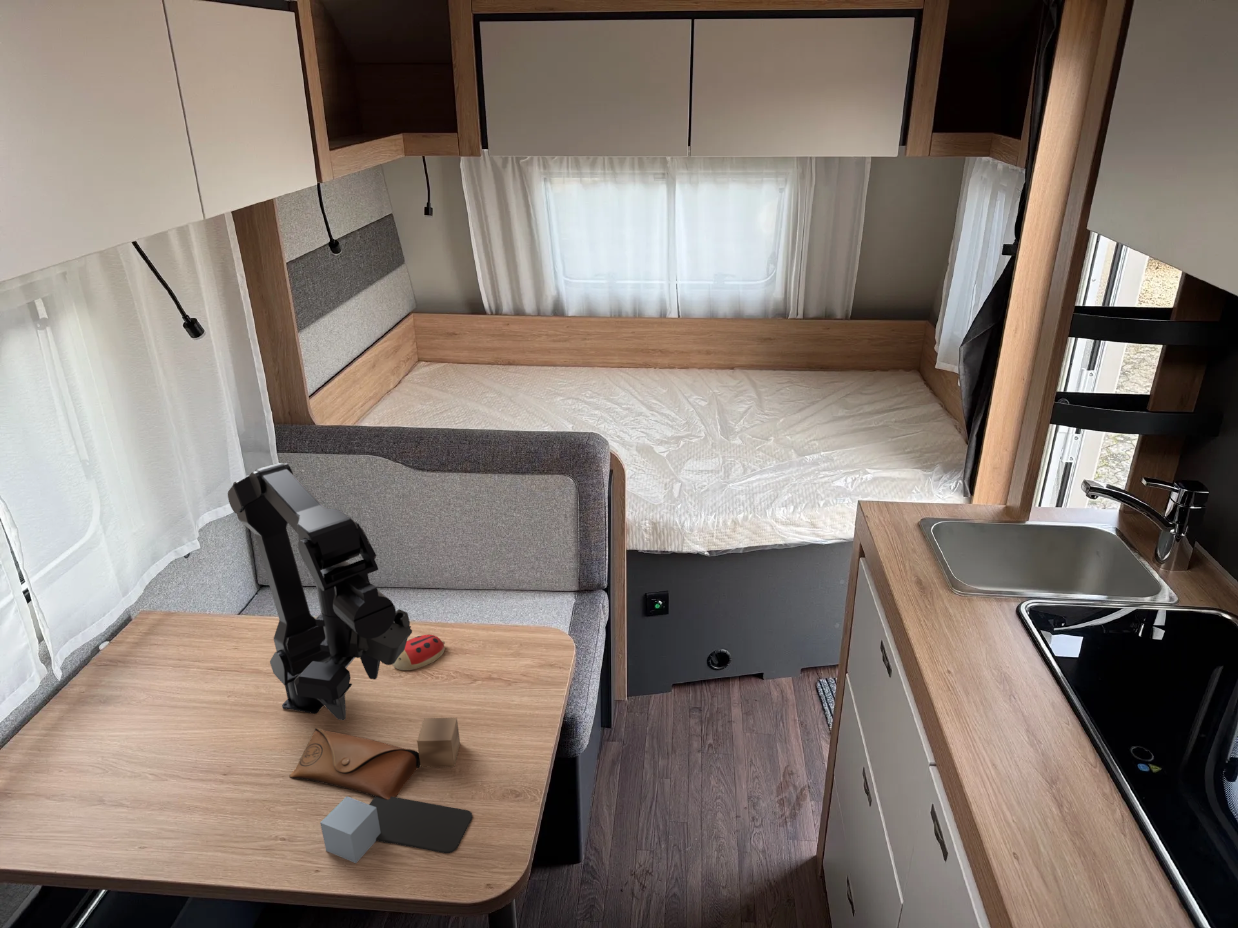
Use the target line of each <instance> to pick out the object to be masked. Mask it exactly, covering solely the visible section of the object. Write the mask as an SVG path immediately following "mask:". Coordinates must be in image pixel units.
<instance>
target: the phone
mask: <svg viewBox="0 0 1238 928" xmlns="http://www.w3.org/2000/svg"><path fill="white" fill-rule="evenodd" d="M369 805H371V806H374V807H376V809H377V814H378V820H379V826H380V832H381V833H380V834H379V835H378V837H377V838H376V842H381V843H384V844H392V845H399V846H404V847H410V848H414V849H419V850H425V851H430V852H436V853H442V854H452V853H454V852H455V851H457V850H458V847H459V846H460V843H461V841H462V839H464V836H465V833H466V832H467V830H468V828H469V826H470V824H471V822H472V820H473V813H472V811H470V810H468V809H463V808H458V807H452V806H446V805H441V804H435V803H431V802H426V801H425V802H424V801H419V800H413V799H408V798H403V797H398V796H397V797H392V796H391V798H390V799H388V800H386V799H383V798H380V797H378V796H376V797H373V799H372V800H371V801H370V802H369Z"/></svg>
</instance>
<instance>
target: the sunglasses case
mask: <svg viewBox="0 0 1238 928" xmlns="http://www.w3.org/2000/svg"><path fill="white" fill-rule="evenodd" d="M420 768H421V766H420V759H419V752H418V750H414V749H411V748H404V747H400V746H397V745H393V744H389V743H385V742H381V741H377V740H373V739H369V738H366V737H360V736H356V735H351V734H345V733H340V732H334V731H330V730H325V729H322V728H318V727H317V728H314V732H313V734H312V735H311V738H310V739H309V742H308V744H307V746H306V747H305V749H304V751H303V753H302V755H301V757H300V758H299V761H298V763H297V765H296V766H295V769H294V770H293V771H292V772H290V774H289V778H290V779H297V780H305V781H309V782H310V781H311V782H314V783H322V784H326V785H328V786H329V785H330V786H335V787H339V788H342V789H346V790H350V791H355V792H358V793H362V794H365V795H368V796H370V797H373V798H375V797H376V796H378V797H380V798H383V799H386V800H388V799H390V798H391V796H392V797H397V798H398V796H399V794H400V792H401V791H402V790H403V789H404V786H405V785H406V784H407V783H408V782H409V780H410V779H411V778H412V776H413V775H414V773H416V771H418V770H417V769H420Z"/></svg>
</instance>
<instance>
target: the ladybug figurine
mask: <svg viewBox="0 0 1238 928" xmlns="http://www.w3.org/2000/svg"><path fill="white" fill-rule="evenodd" d="M445 647H446V646H445V640H441V638H439V637H438V636H436V635H435V634H423V635H418V636H415V637H412V638H411V639H409V640H408V639H407V642H406V646H405V649H404V651H403V652H402V653H401V654H400V656H399V657H398V658H397V660H396V662H395V663H394V664H392V666H393V667H394V669H397V670H399V671H411V670H416V669H419V668H423V667H426V666H427V665H430V664H432V663H434V662H435V661H436V660H438V659H439V658H440V657H441V656H442V655H443V654H444V652H445V649H446V648H445Z"/></svg>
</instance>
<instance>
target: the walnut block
mask: <svg viewBox="0 0 1238 928" xmlns="http://www.w3.org/2000/svg"><path fill="white" fill-rule="evenodd" d="M460 741H461V739H460V731H459V723H458V717H424V718H423V720H422V724H421V727H420V730H419V733H418V736H417V739H416V744H417V752H418V753H419V759H420V768H455V766H456V762H457V757H458V754H459V750H460V745H461V742H460Z"/></svg>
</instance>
